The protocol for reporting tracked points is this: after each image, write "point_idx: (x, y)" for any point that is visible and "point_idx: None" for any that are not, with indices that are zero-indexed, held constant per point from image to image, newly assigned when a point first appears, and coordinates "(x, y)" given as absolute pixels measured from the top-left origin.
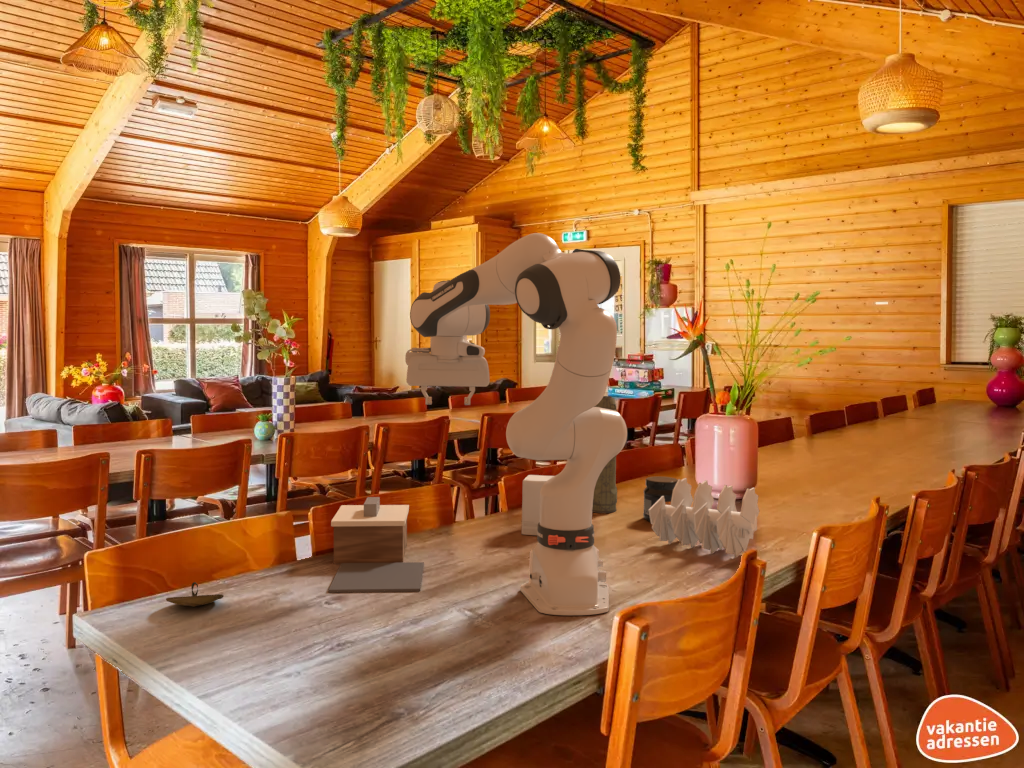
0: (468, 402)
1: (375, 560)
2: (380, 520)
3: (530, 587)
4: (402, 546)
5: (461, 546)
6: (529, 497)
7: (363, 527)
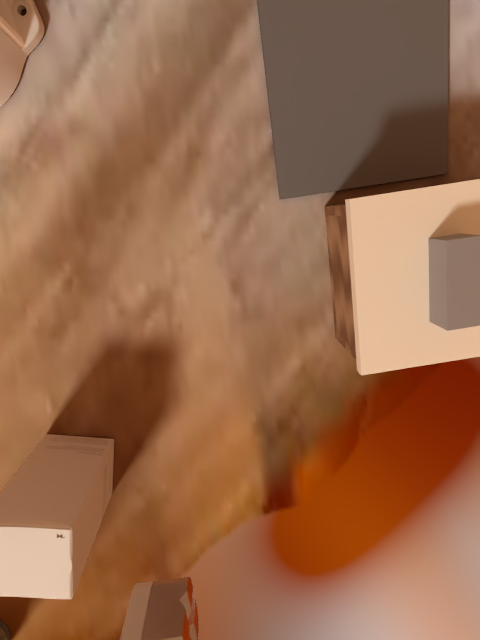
0: (148, 596)
1: None
2: (413, 195)
3: (16, 15)
4: (335, 206)
5: (223, 341)
6: (68, 492)
7: None
